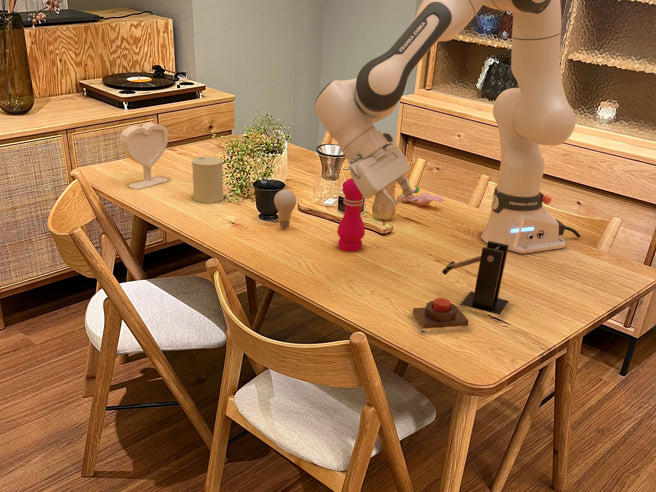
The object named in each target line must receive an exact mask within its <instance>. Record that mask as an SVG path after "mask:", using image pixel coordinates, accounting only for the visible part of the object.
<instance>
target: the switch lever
mask: <svg viewBox="0 0 656 492" xmlns="http://www.w3.org/2000/svg"><path fill="white" fill-rule="evenodd" d="M491 249H496V250H500V251H501V248H500V246H498V247H494V248H491ZM480 259H481V255H478V256H474V257H471V258H468V259H465V260H461V261H458V262H455V261H453V260H452V261H450V262H449V263H448V264H447V265H446V266H445V267H444V268H443V269H442V271H441V272H442V274H443V275H448V273H449V272H450V271H452V270H455V269H459V268H462V267H467V266H469V265H472V264H476V263H480Z"/></svg>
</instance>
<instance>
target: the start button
mask: <svg viewBox="0 0 656 492" xmlns="http://www.w3.org/2000/svg"><path fill="white" fill-rule="evenodd" d="M433 301H434V304H433V309H434V310H436V311H439V312H448V311H450V306H451V303H452V301H451V300H450V299H448V298H446V297H437V298H434V300H433Z"/></svg>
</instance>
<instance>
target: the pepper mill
mask: <svg viewBox="0 0 656 492" xmlns="http://www.w3.org/2000/svg"><path fill="white" fill-rule="evenodd" d="M342 194H343V195H344V196H343V204H344V207H345V208H344V213H343V216H342V218H341V220H340V221H339V223H338V225H337V231H336V233H337V236H338V237H339V239H338V241H337V243H338V244H337V248H338V249H340V250H341V251H344V252H349V253H350V252H351V253H353V252H355V253H356V252H359V251H361V250H362V247H363V240H362V239H363V238H364V237H365V234H366V228H365V223H364V221H363V218H362V215H361V208H362V206H363V204H364V196H363V195H362V194H361V192H360V191H359V189H358V187H357V186H356V184H355V182H354V181H353V179H352V177H351V178H348V179H347V180H345V181H344V182H343V185H342Z"/></svg>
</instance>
